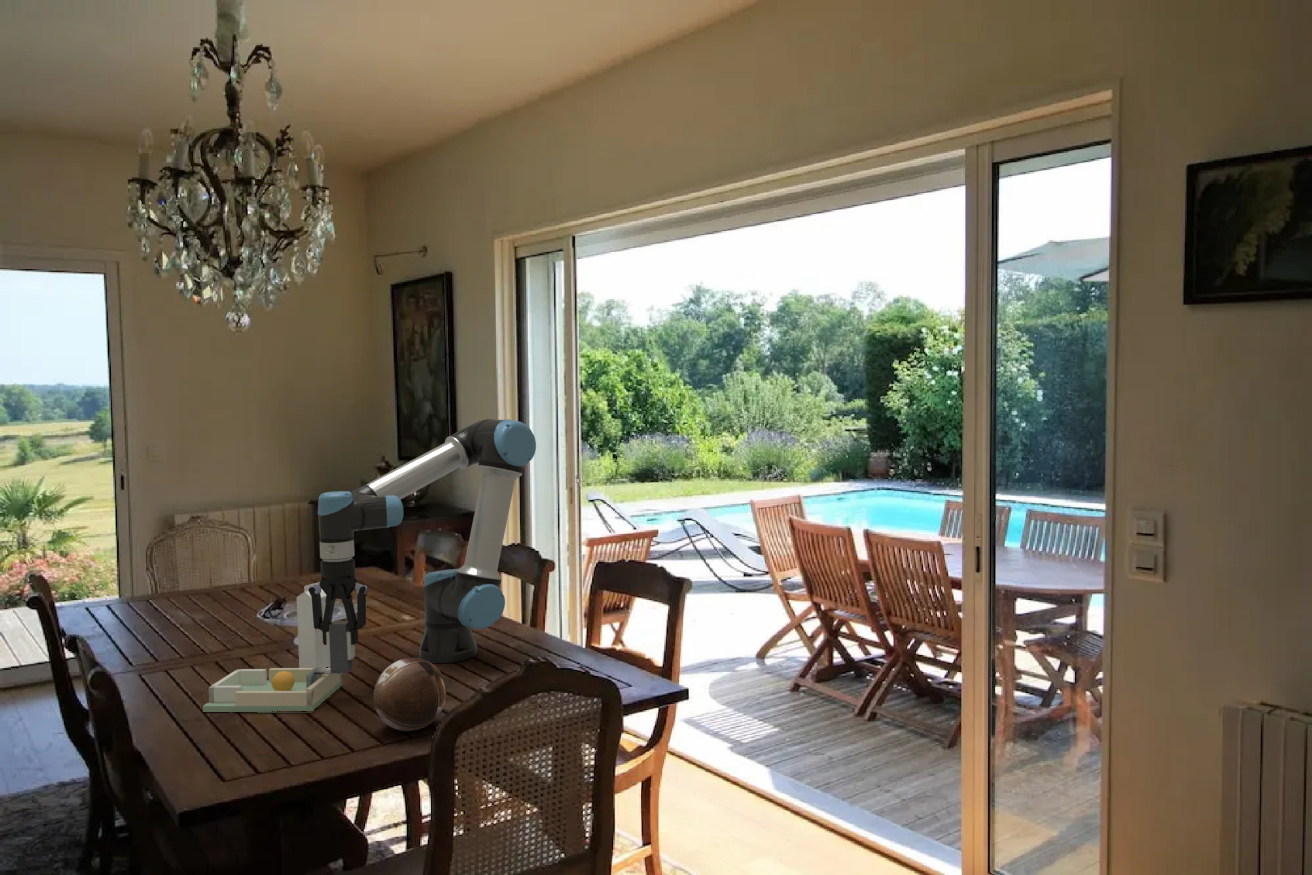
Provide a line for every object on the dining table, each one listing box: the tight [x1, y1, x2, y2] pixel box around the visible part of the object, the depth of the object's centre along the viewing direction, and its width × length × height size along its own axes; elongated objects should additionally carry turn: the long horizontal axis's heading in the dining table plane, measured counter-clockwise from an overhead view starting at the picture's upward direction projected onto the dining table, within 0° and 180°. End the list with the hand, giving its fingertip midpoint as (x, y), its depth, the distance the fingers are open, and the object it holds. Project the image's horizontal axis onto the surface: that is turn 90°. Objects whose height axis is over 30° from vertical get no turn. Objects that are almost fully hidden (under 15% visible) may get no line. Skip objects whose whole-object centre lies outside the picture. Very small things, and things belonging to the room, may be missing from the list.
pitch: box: [202, 667, 343, 714], centre depth 218 cm, size 25×18×5 cm
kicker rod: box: [306, 620, 353, 688], centre depth 217 cm, size 9×6×16 cm, turn 88°
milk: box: [296, 581, 333, 668], centre depth 241 cm, size 6×6×22 cm
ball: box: [272, 671, 295, 691], centre depth 217 cm, size 5×5×5 cm
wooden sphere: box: [372, 657, 448, 732], centre depth 197 cm, size 15×15×15 cm
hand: (341, 657), depth 217 cm, fingers closed on kicker rod, 4 cm apart
